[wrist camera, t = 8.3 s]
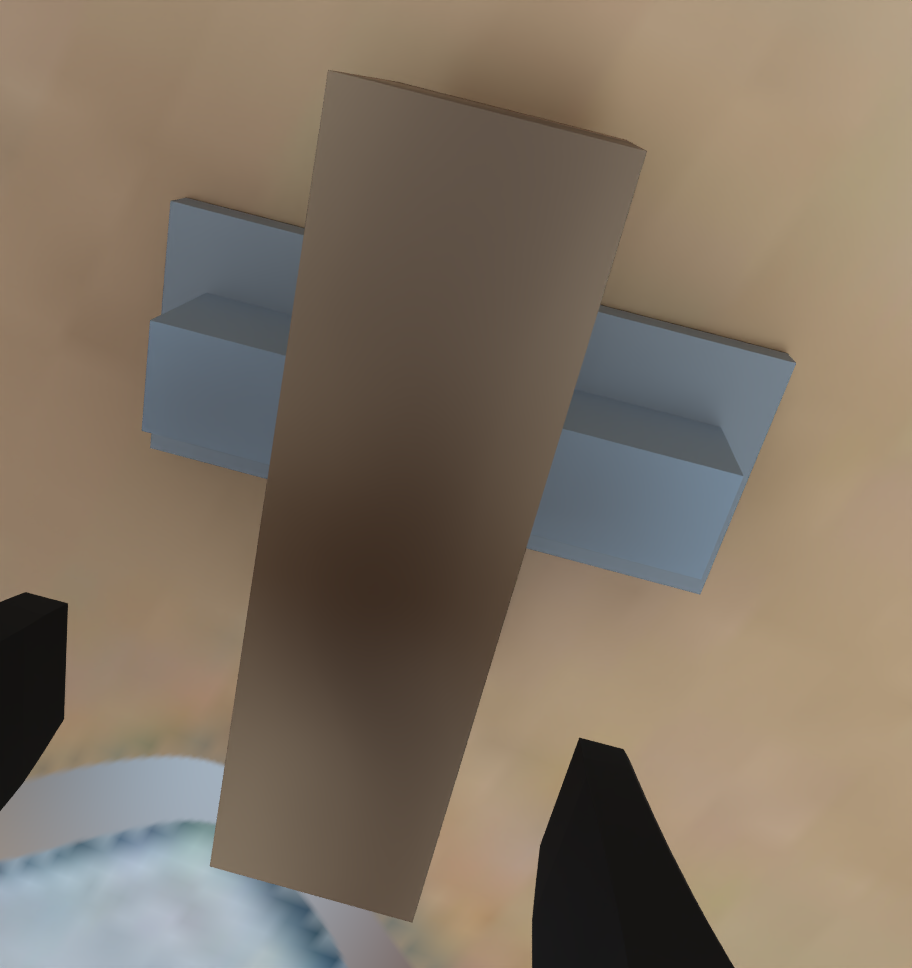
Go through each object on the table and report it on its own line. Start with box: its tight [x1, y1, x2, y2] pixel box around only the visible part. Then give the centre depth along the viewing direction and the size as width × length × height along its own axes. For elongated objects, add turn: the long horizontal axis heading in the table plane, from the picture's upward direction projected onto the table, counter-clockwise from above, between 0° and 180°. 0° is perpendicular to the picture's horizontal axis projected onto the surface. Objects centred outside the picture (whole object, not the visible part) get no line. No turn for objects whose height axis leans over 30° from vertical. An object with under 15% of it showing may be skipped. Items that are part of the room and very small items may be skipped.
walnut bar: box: [210, 70, 647, 922], centre depth 15 cm, size 4×14×4 cm, turn 167°
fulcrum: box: [142, 198, 796, 594], centre depth 19 cm, size 14×6×4 cm, turn 77°
